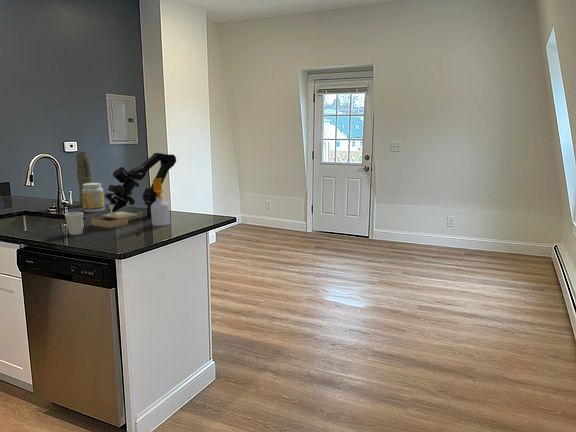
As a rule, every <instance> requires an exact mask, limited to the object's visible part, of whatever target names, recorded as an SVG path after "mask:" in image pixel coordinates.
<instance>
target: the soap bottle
mask: <svg viewBox="0 0 576 432" xmlns="http://www.w3.org/2000/svg"><path fill="white" fill-rule="evenodd" d="M161 180H162V178H155V177H154V178H153V179H152V184H153V187H154V192H156V194H157V196H156V201H155V202H154V203H153V204H152V205H151V216H150V217H151V225H152V226H153V227H165V226H168V225H170V224H171V221H170V220H171V219H170V205H169V204H168V203H167V202H166V201H165V200H164V199H163V196H162V195H161V194H162V193H163V192H164V190H163V189H162V185H161Z"/></svg>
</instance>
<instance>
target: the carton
mask: <svg viewBox="0 0 576 432" xmlns="http://www.w3.org/2000/svg"><path fill="white" fill-rule="evenodd" d="M90 220H91V226H92V225H93V226H94V227H97V226H98V228H104V229H113V228H117V227H121V226H126V225H129V217H126V218H121V219H115V218H109V217H103V216H100V217H94V218H91V219H90ZM93 226H92V227H93Z"/></svg>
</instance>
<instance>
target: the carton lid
mask: <svg viewBox="0 0 576 432" xmlns="http://www.w3.org/2000/svg"><path fill="white" fill-rule="evenodd" d="M114 206H115V204H111V205H110V204H109V207H110V212H109V213H107V214H106V213H105V214H101V217H109V218H115V219H121V218H126V217H127V218H130V217H135V216H136V217H137V216H139V213H133V212H126V211H118V212H117V211H115V212H112V210H113V208H114Z"/></svg>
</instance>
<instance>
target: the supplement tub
mask: <svg viewBox="0 0 576 432" xmlns="http://www.w3.org/2000/svg"><path fill="white" fill-rule="evenodd" d="M82 198H83V206H82V208H83V211H84V212H86V213H97V212H98V213H99V212H103V211H105V208H106V207H105V194H104V189H103V187H102V183H101V182H92V183H86V184H83V189H82Z"/></svg>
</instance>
